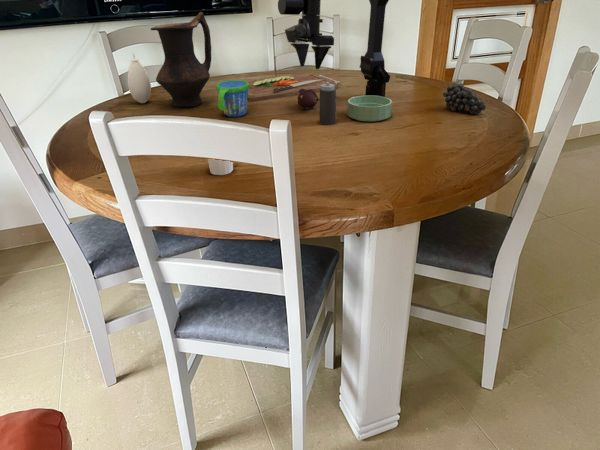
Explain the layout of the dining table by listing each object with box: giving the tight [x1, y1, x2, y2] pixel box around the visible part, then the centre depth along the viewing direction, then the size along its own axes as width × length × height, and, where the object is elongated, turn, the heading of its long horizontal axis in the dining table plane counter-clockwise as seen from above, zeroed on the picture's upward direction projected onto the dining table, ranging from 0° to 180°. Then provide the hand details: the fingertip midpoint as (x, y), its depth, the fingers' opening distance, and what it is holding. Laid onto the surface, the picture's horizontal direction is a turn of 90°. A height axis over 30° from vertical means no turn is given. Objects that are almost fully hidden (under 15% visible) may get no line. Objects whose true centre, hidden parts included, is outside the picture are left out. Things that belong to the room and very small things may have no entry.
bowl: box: [347, 95, 393, 122], centre depth 149 cm, size 14×14×5 cm
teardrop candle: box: [127, 51, 152, 104], centre depth 167 cm, size 8×8×18 cm
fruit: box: [442, 82, 487, 115], centre depth 150 cm, size 9×8×15 cm
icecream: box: [296, 89, 320, 111], centre depth 157 cm, size 7×7×15 cm
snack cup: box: [215, 79, 249, 118], centre depth 153 cm, size 16×10×10 cm
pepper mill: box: [319, 82, 337, 126], centre depth 142 cm, size 5×5×13 cm
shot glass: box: [207, 159, 234, 176], centre depth 112 cm, size 7×7×7 cm
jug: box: [150, 11, 212, 108], centre depth 161 cm, size 21×18×30 cm
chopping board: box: [245, 72, 340, 102], centre depth 186 cm, size 45×27×3 cm, turn 117°
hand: (309, 67), depth 151 cm, fingers open, 9 cm apart
